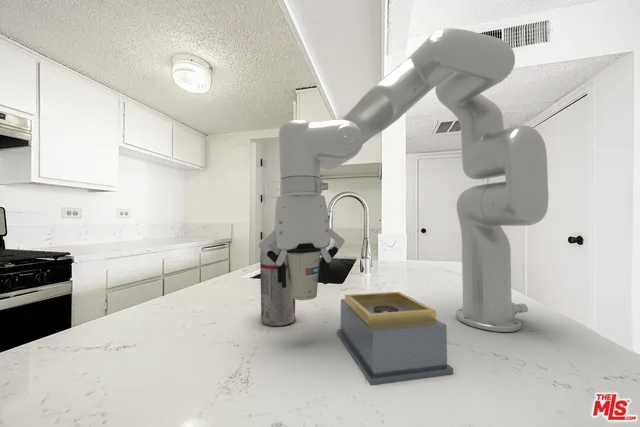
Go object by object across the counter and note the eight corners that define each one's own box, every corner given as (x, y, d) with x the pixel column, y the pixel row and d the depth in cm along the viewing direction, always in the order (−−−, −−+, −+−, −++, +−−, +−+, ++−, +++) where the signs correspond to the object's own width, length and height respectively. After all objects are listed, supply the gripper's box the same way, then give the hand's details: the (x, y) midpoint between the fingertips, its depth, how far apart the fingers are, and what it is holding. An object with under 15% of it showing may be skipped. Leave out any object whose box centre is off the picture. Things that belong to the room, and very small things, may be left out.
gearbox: (337, 333, 53) (337, 291, 53) (402, 327, 56) (401, 287, 56) (370, 385, 36) (370, 323, 36) (461, 372, 39) (460, 315, 39)
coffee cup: (277, 299, 47) (276, 244, 47) (300, 289, 53) (298, 240, 53) (309, 304, 43) (307, 244, 44) (330, 293, 49) (328, 241, 50)
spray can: (289, 329, 55) (290, 234, 55) (253, 326, 56) (254, 234, 57) (300, 315, 63) (301, 233, 64) (268, 312, 65) (269, 232, 65)
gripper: (339, 191, 54) (342, 276, 54) (254, 192, 50) (256, 283, 50) (351, 186, 47) (355, 285, 46) (252, 187, 43) (255, 294, 43)
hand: (304, 283), depth 48 cm, fingers closed on coffee cup, 7 cm apart
